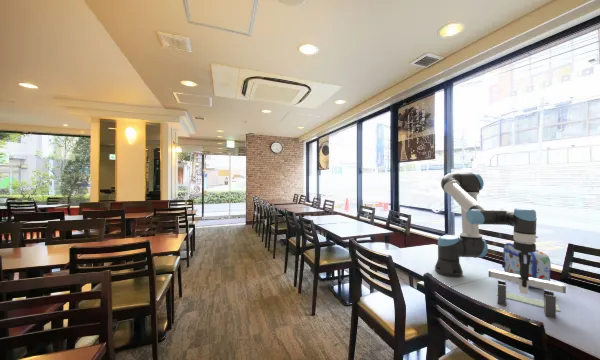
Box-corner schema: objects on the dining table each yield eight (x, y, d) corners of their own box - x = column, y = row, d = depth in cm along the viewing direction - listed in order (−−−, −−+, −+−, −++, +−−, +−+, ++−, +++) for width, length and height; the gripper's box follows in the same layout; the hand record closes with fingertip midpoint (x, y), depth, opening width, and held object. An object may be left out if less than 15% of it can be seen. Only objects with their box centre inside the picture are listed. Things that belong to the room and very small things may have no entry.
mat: (496, 296, 120) (496, 295, 120) (496, 291, 125) (496, 290, 125) (560, 311, 106) (560, 310, 106) (557, 305, 111) (557, 304, 111)
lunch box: (498, 271, 152) (498, 238, 151) (517, 273, 149) (517, 238, 149) (531, 291, 125) (531, 250, 125) (554, 293, 123) (554, 251, 123)
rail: (488, 276, 116) (488, 270, 116) (488, 274, 118) (488, 268, 118) (565, 293, 99) (565, 286, 99) (564, 291, 102) (564, 284, 102)
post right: (545, 316, 102) (545, 294, 102) (543, 310, 107) (543, 289, 107) (555, 319, 100) (555, 297, 100) (553, 312, 105) (553, 291, 105)
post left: (497, 304, 112) (497, 284, 112) (497, 298, 117) (497, 279, 117) (506, 306, 110) (506, 286, 110) (505, 300, 115) (505, 281, 115)
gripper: (538, 247, 100) (537, 301, 100) (534, 239, 112) (533, 288, 113) (514, 244, 105) (513, 295, 105) (512, 237, 117) (512, 283, 117)
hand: (523, 291), depth 109 cm, fingers closed on rail, 3 cm apart
